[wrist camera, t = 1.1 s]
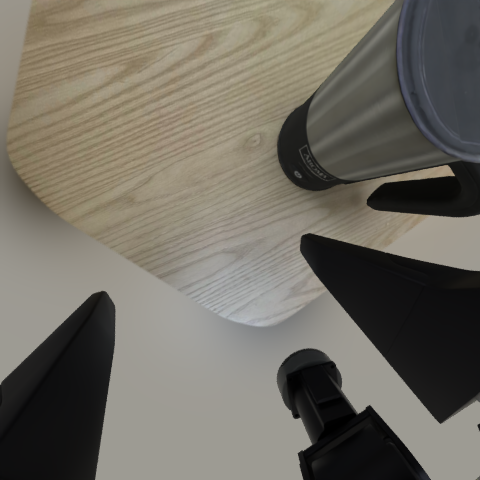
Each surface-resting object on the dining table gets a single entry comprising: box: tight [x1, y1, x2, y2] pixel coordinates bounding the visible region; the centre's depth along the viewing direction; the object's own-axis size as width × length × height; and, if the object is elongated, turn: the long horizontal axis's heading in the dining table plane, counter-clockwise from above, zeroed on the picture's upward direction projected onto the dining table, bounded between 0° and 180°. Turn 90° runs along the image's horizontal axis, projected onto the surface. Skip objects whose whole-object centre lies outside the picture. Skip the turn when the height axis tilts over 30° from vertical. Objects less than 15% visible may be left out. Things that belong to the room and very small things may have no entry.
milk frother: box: [278, 0, 480, 217], centre depth 15 cm, size 14×16×15 cm
